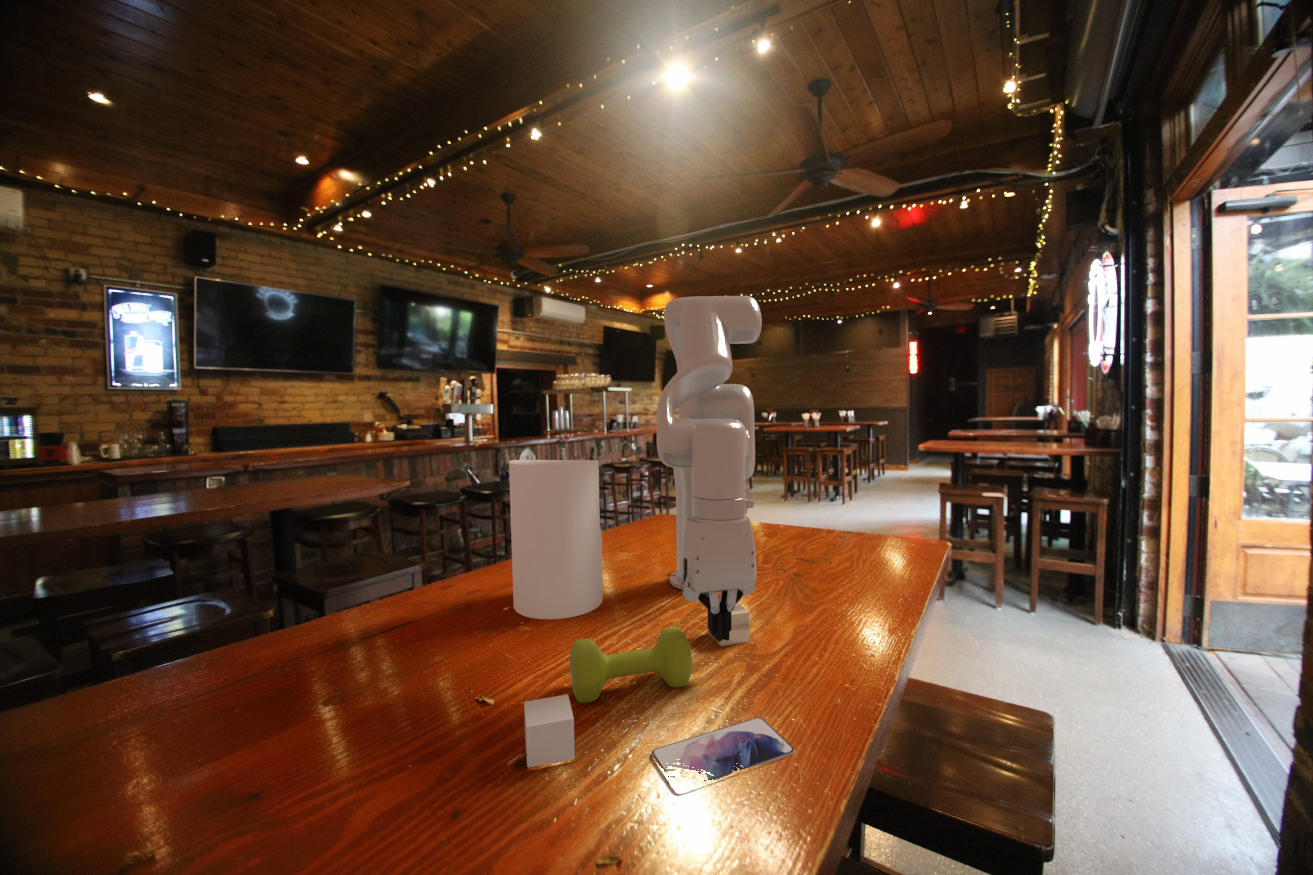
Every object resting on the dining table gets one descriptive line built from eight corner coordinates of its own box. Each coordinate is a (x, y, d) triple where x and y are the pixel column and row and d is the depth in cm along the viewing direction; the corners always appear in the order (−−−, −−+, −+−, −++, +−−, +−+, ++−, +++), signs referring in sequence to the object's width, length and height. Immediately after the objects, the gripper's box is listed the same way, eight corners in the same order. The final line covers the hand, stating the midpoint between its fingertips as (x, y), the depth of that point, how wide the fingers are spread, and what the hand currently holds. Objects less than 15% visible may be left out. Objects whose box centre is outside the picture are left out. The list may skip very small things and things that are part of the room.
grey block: (525, 743, 61) (524, 701, 60) (569, 735, 62) (568, 694, 62) (527, 772, 56) (526, 727, 55) (574, 762, 57) (573, 718, 57)
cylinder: (588, 621, 94) (585, 465, 92) (497, 616, 96) (492, 465, 95) (612, 587, 111) (609, 455, 109) (534, 584, 114) (530, 455, 112)
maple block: (708, 633, 89) (708, 604, 88) (735, 629, 90) (735, 601, 90) (720, 646, 84) (720, 616, 83) (749, 642, 85) (749, 612, 85)
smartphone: (798, 750, 58) (676, 792, 52) (798, 757, 58) (676, 800, 52) (760, 714, 65) (648, 749, 58) (760, 721, 65) (648, 756, 58)
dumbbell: (679, 665, 78) (679, 618, 78) (697, 694, 70) (697, 642, 70) (568, 682, 74) (566, 632, 73) (574, 715, 66) (573, 659, 66)
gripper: (754, 501, 80) (754, 620, 80) (660, 507, 75) (661, 633, 76) (779, 509, 72) (780, 640, 73) (677, 517, 68) (678, 656, 69)
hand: (719, 636), depth 75 cm, fingers closed
